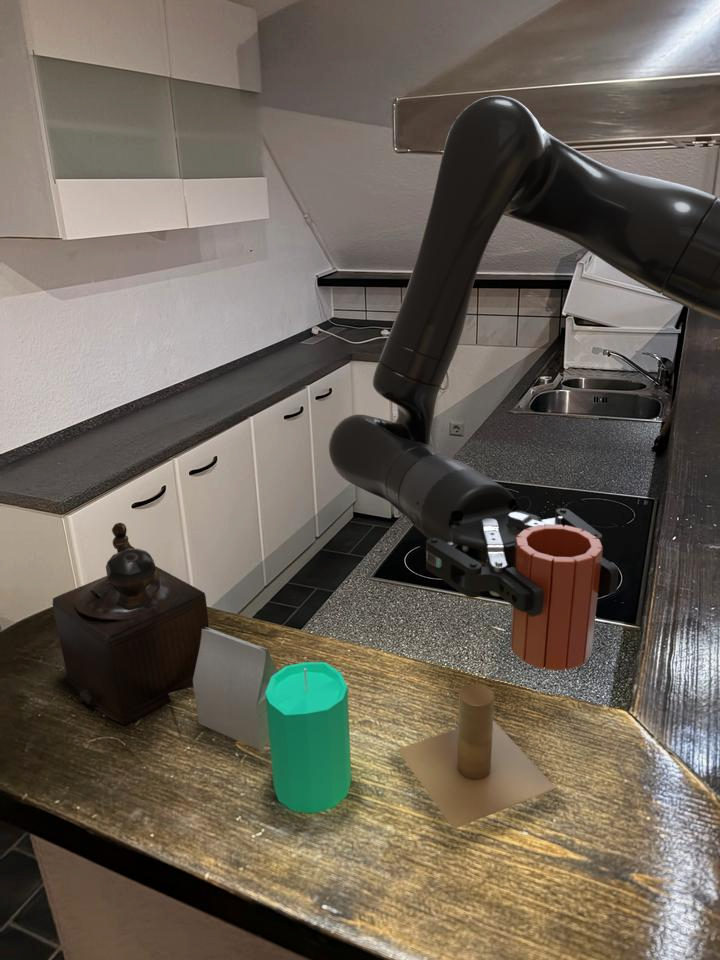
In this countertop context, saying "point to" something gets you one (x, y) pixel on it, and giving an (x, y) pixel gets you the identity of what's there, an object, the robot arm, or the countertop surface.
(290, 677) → the candle
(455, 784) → the ring holder
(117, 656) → the brown coffee grinder
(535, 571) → the hollow cylinder
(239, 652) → the tea bag
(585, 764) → the countertop surface
